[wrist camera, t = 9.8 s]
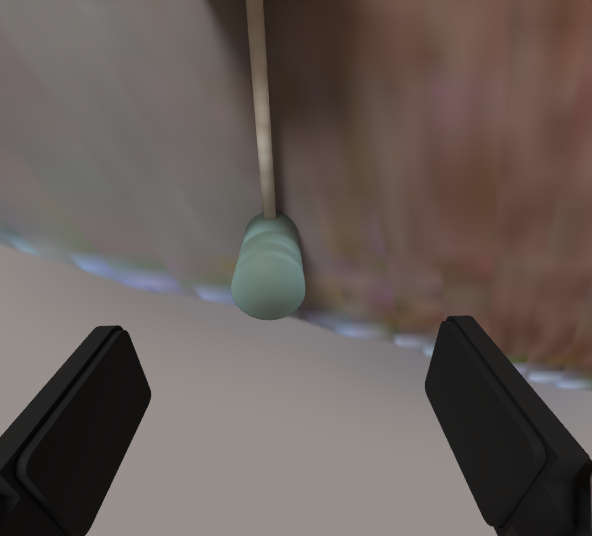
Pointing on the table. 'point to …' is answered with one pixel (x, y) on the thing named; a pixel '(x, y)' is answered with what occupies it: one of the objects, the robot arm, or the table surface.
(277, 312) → the tethered block
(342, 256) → the table surface
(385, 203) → the table surface
